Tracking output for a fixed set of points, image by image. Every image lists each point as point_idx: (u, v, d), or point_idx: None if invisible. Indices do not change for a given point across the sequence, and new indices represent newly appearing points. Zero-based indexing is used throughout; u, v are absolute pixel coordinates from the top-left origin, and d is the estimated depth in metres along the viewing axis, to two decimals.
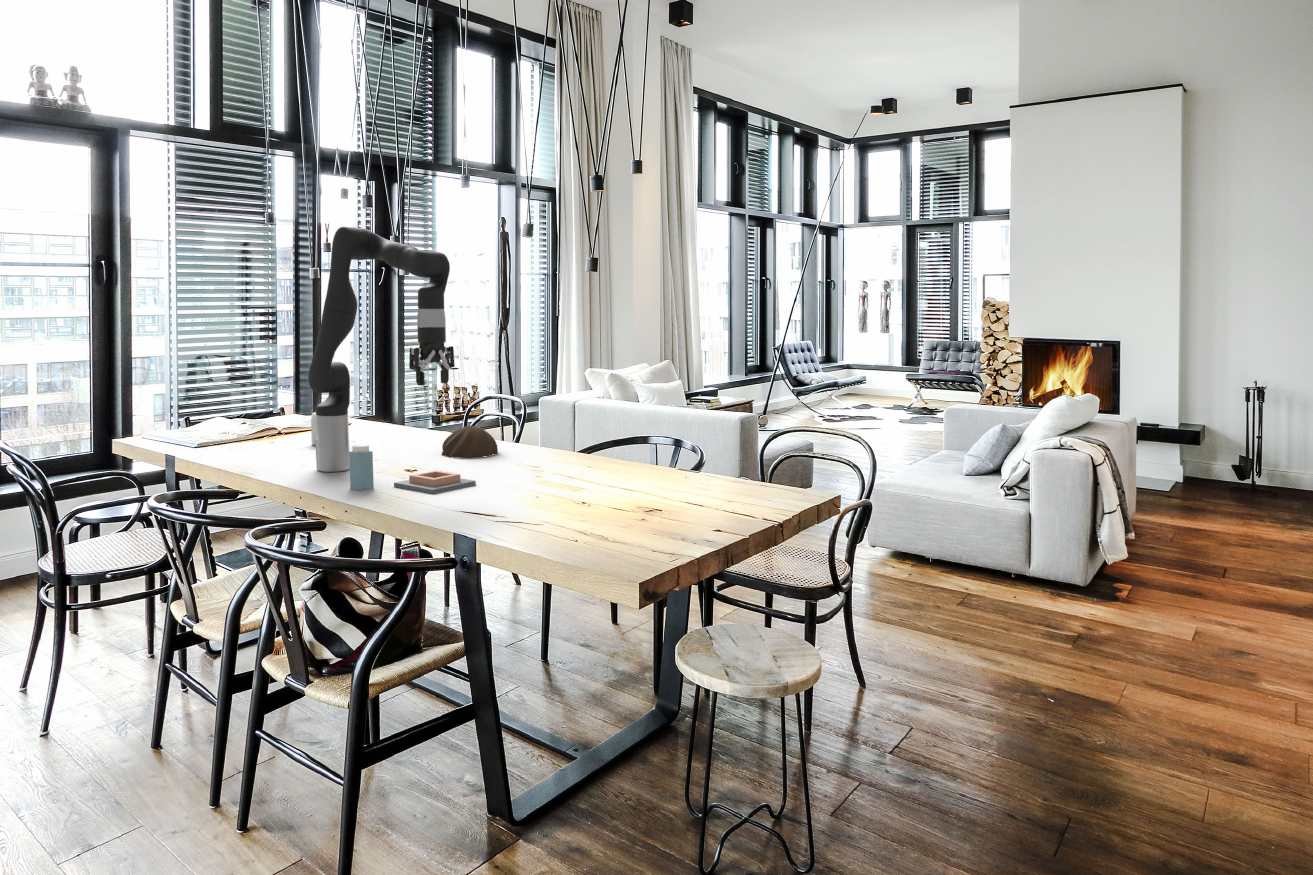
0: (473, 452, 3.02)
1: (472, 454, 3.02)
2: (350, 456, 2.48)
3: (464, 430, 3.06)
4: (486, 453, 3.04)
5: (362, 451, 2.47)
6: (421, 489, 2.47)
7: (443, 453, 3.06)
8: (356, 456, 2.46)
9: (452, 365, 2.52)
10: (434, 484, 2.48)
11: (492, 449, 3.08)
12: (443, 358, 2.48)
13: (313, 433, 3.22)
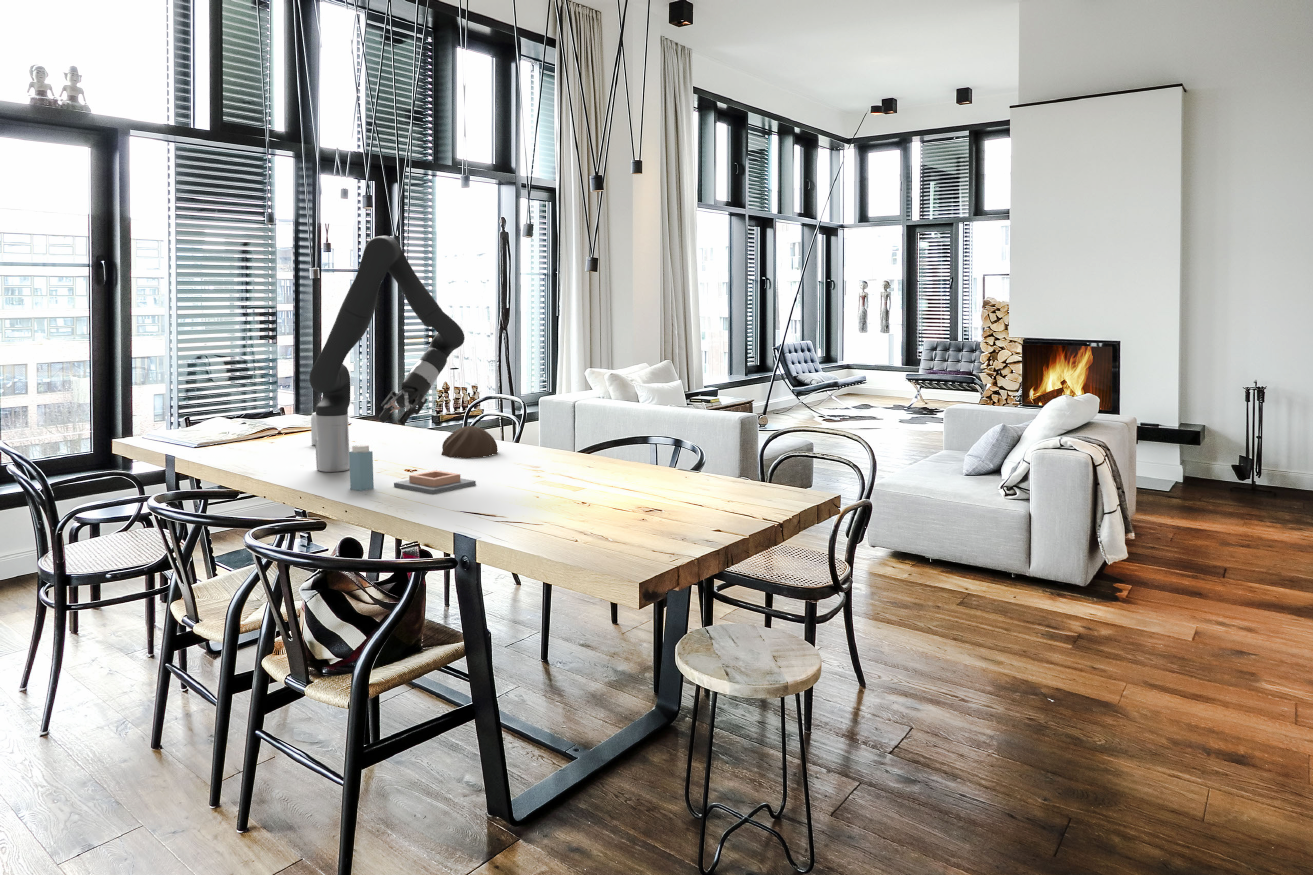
0: (473, 452, 3.02)
1: (472, 454, 3.02)
2: (350, 456, 2.48)
3: (464, 430, 3.06)
4: (485, 453, 3.04)
5: (362, 451, 2.47)
6: (421, 489, 2.47)
7: (443, 453, 3.06)
8: (356, 456, 2.46)
9: None
10: (434, 484, 2.48)
11: (492, 449, 3.08)
12: None
13: (313, 433, 3.22)
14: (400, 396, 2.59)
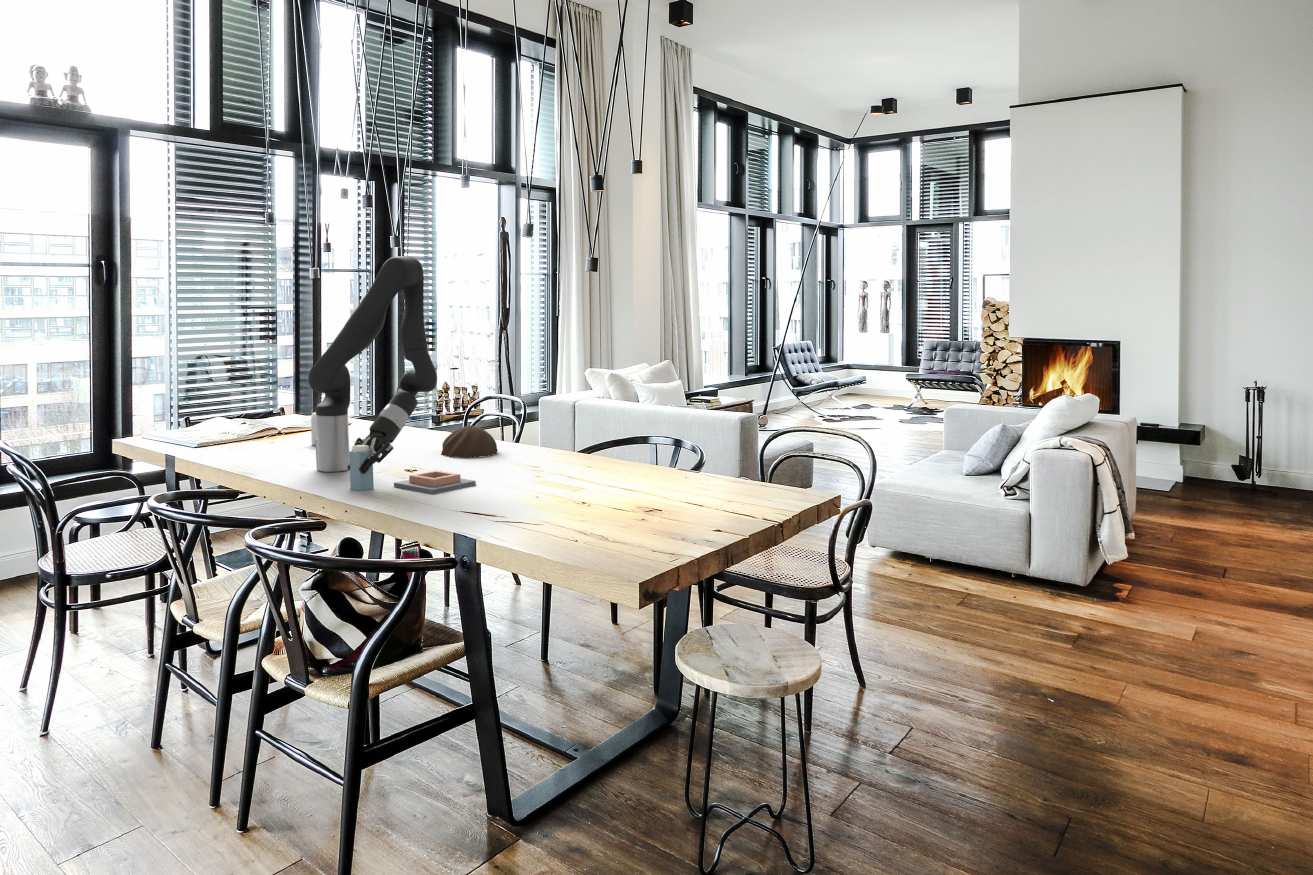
0: (471, 452, 3.02)
1: (470, 454, 3.02)
2: (350, 456, 2.48)
3: (463, 430, 3.07)
4: (484, 453, 3.04)
5: (362, 451, 2.46)
6: (421, 489, 2.47)
7: (442, 453, 3.07)
8: (356, 456, 2.46)
9: None
10: (434, 484, 2.48)
11: (491, 449, 3.08)
12: None
13: (313, 433, 3.22)
14: (369, 441, 2.51)
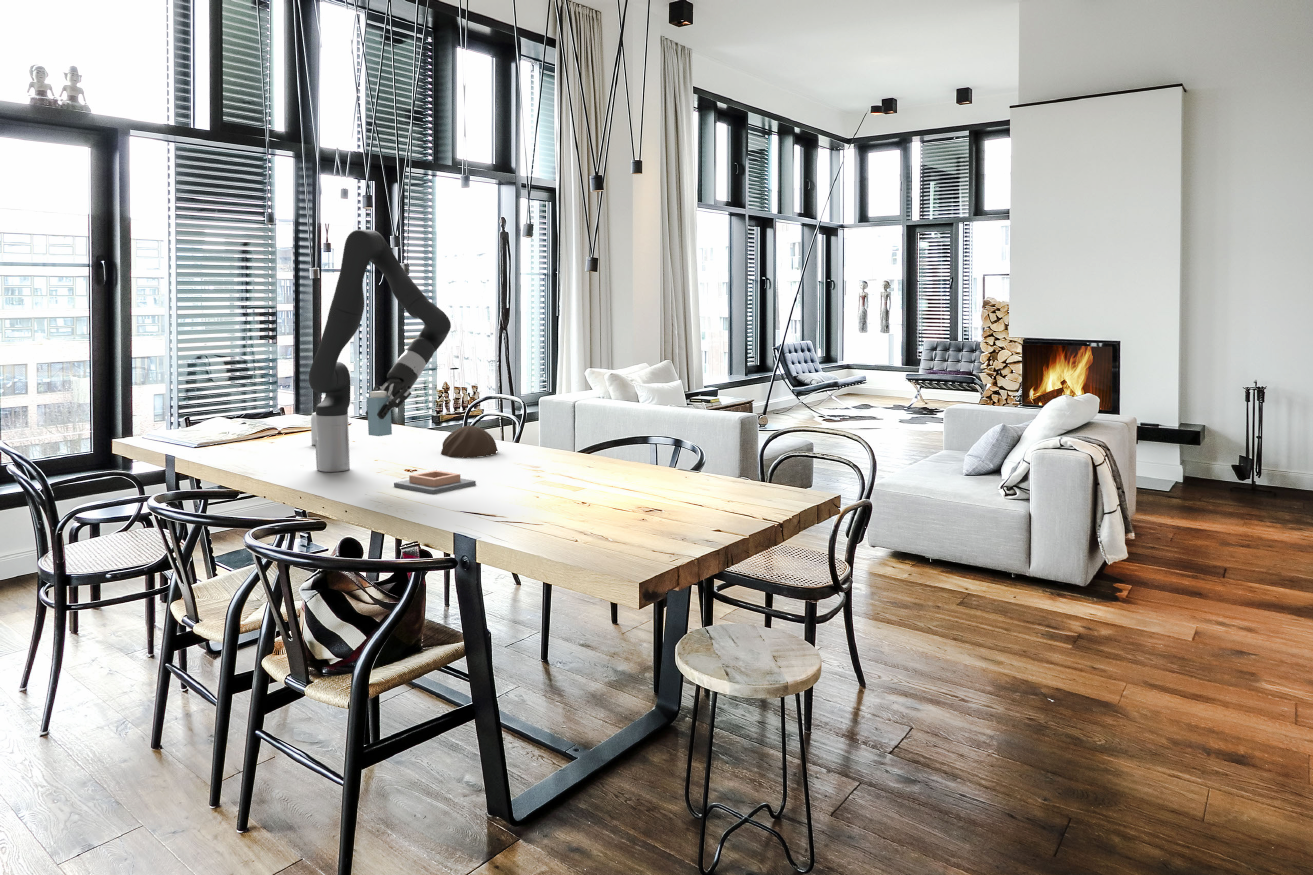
0: (470, 452, 3.03)
1: (469, 454, 3.02)
2: (368, 402, 2.47)
3: (463, 430, 3.07)
4: (483, 453, 3.05)
5: (380, 396, 2.45)
6: (421, 489, 2.47)
7: (442, 452, 3.07)
8: (374, 401, 2.45)
9: None
10: (434, 484, 2.48)
11: (491, 449, 3.09)
12: None
13: (313, 433, 3.22)
14: (386, 387, 2.50)
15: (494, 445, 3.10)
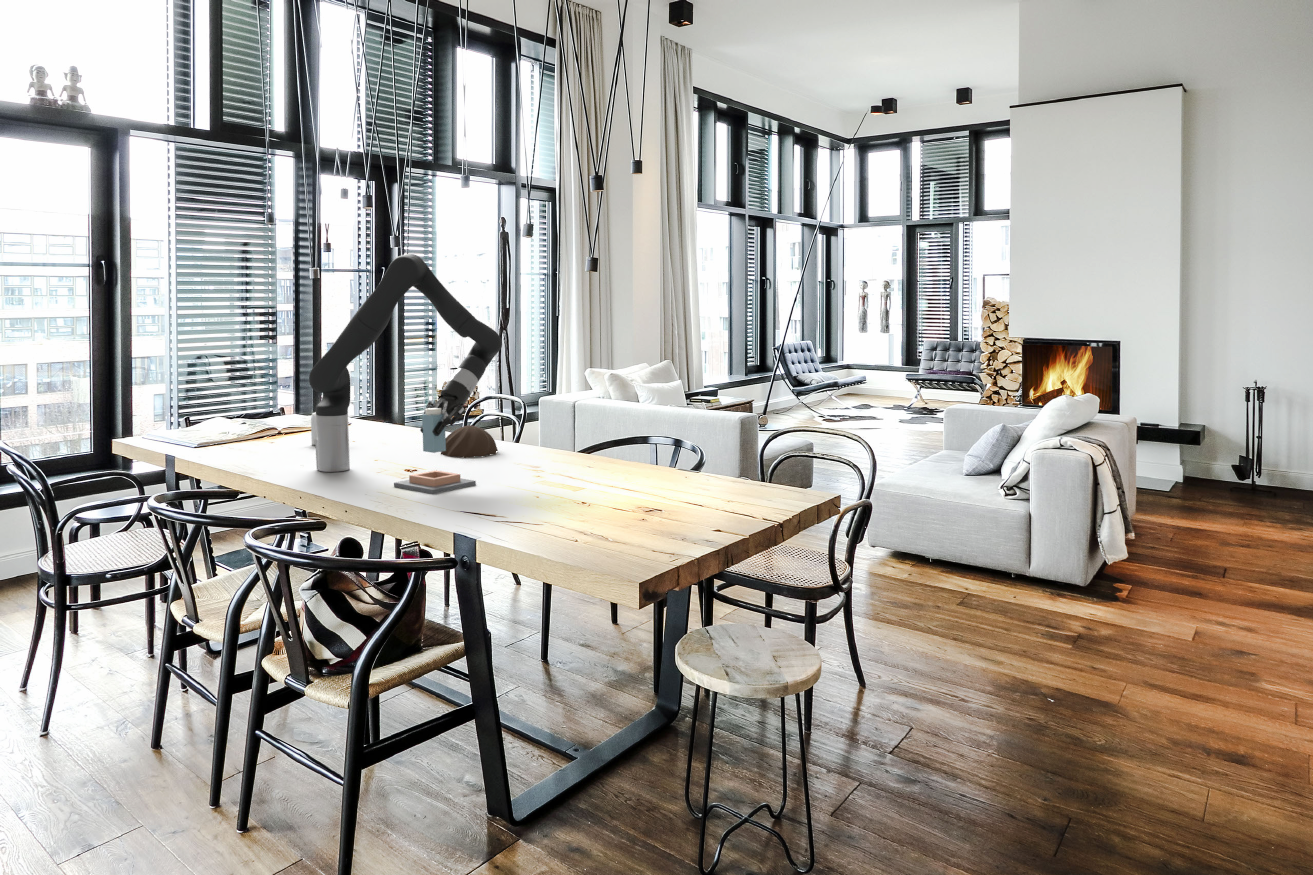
0: (470, 452, 3.03)
1: (468, 453, 3.03)
2: (423, 419, 2.51)
3: (463, 429, 3.07)
4: (483, 453, 3.05)
5: (435, 413, 2.50)
6: (421, 489, 2.47)
7: (442, 452, 3.08)
8: (430, 418, 2.50)
9: None
10: (434, 484, 2.48)
11: (490, 449, 3.09)
12: None
13: (313, 433, 3.22)
14: (440, 404, 2.55)
15: (494, 445, 3.10)
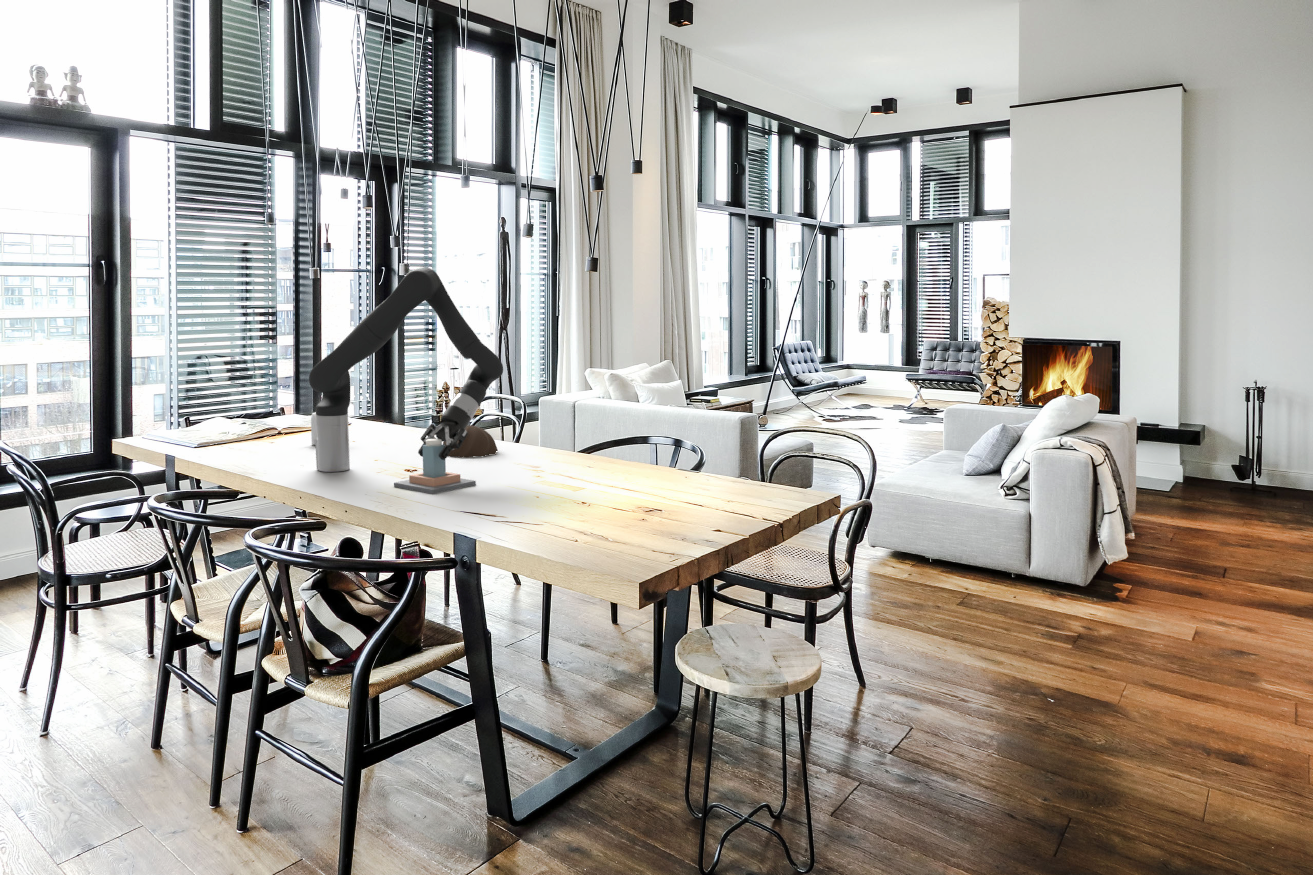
0: (469, 451, 3.03)
1: (468, 453, 3.03)
2: (423, 450, 2.53)
3: None
4: (482, 453, 3.05)
5: (435, 445, 2.52)
6: (421, 489, 2.47)
7: None
8: (430, 450, 2.51)
9: None
10: (434, 484, 2.48)
11: (490, 449, 3.09)
12: None
13: (313, 433, 3.22)
14: (440, 430, 2.56)
15: (493, 445, 3.10)
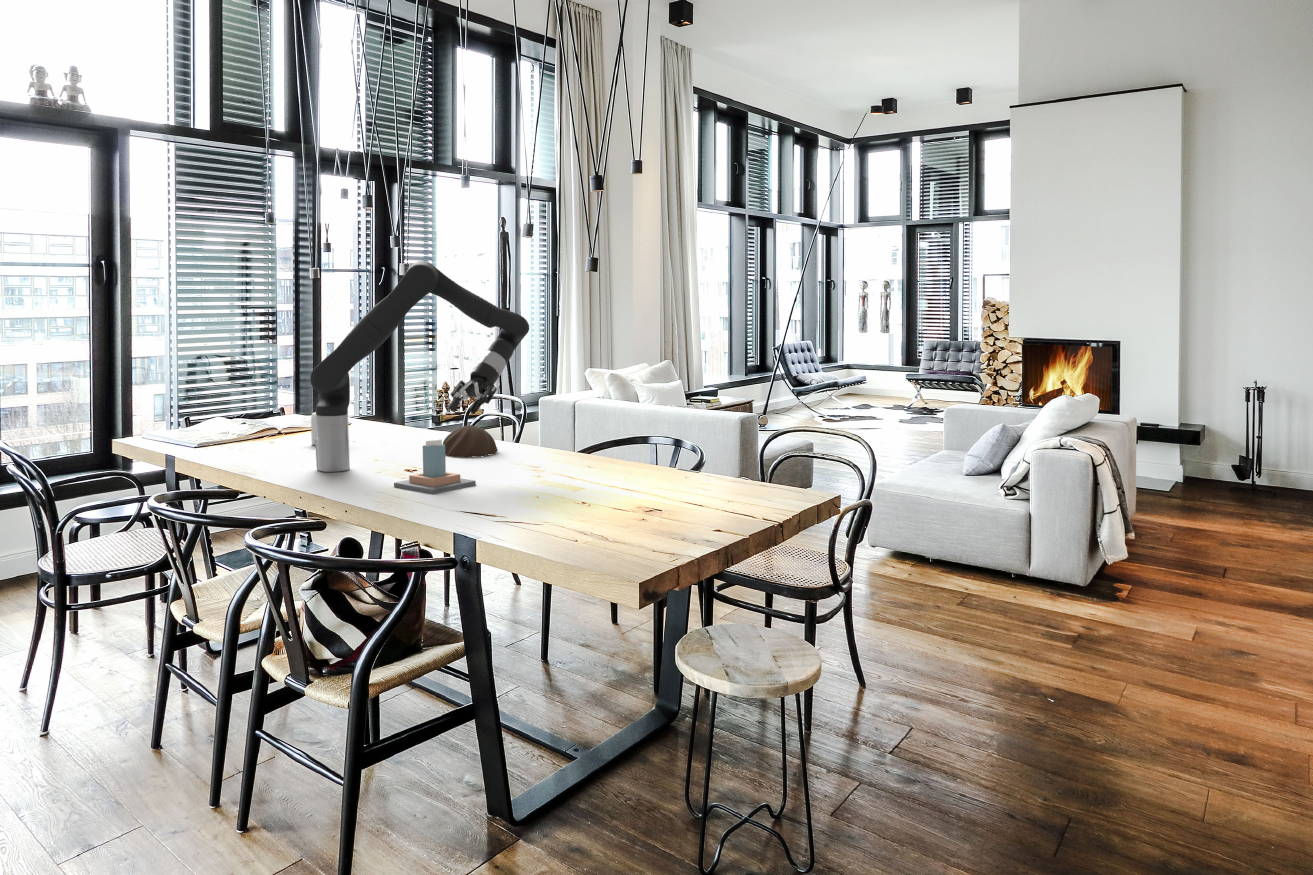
0: (469, 451, 3.03)
1: (468, 453, 3.03)
2: (423, 450, 2.53)
3: (462, 429, 3.08)
4: (482, 453, 3.05)
5: (435, 445, 2.52)
6: (421, 489, 2.47)
7: None
8: (430, 450, 2.51)
9: None
10: (434, 484, 2.48)
11: (490, 449, 3.09)
12: None
13: (313, 433, 3.22)
14: (470, 386, 2.64)
15: (494, 445, 3.11)
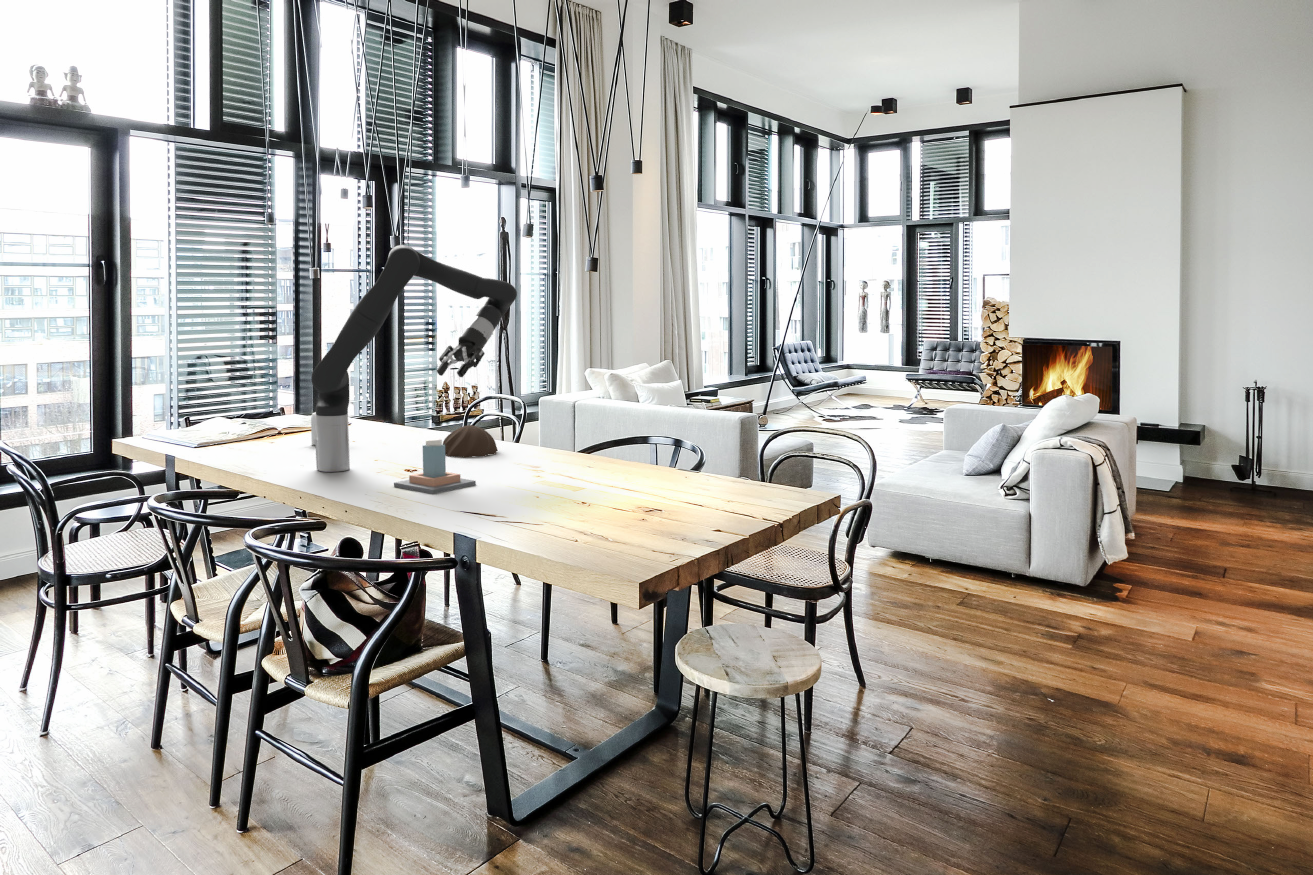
0: (470, 451, 3.03)
1: (469, 453, 3.03)
2: (423, 450, 2.53)
3: (463, 429, 3.08)
4: (483, 453, 3.05)
5: (435, 445, 2.52)
6: (421, 489, 2.47)
7: None
8: (430, 450, 2.51)
9: None
10: (434, 484, 2.48)
11: (490, 449, 3.09)
12: None
13: (313, 433, 3.22)
14: (458, 350, 2.68)
15: (494, 445, 3.11)
